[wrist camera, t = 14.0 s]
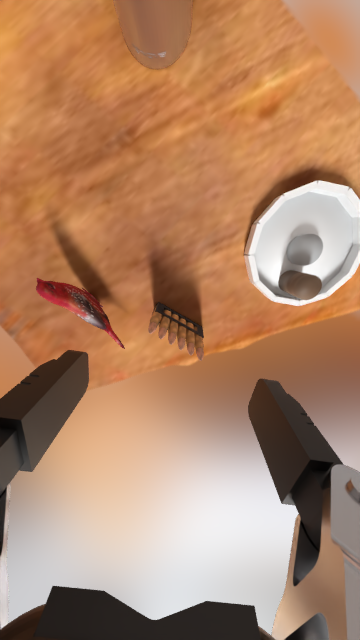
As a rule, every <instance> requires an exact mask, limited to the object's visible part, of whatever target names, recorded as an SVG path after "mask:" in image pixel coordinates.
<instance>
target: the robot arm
mask: <svg viewBox="0 0 360 640" xmlns="http://www.w3.org/2000/svg"><path fill="white" fill-rule="evenodd" d="M113 2H114V6H115V9H116V13H117V16H118V19H119V23H120V26H121V30H122V33H123V37H124V39H125V42H126V44H127V47H128V48H129V50H130V52H131V53H132V55H133V56H134V57H135V58H136V59H137V60H138V61H139V62H140V63H141V64H143V65H144V66H146V67H149V68H151V69H162V68H166V67H168V66H170V65H172V64H173V63H174V62H175V61H176V60H177V59H178V58H179V57H180V55H181V54H182V53H183V51H184V49H185V47H186V45H187V42H188V39H189V35H190V32H191V24H192V3H193V0H113ZM88 382H89V368H88V354H87V353H86V352H80V351H74V350H68V351H66V352H65V353H64V354H63V355H62V356H61V357H59V358H58V359H57V360H55V359H53V360H51V361H48V362H46V363H44V364H42V365H40V366H39V367H38V368H36V369H35V370H34V371H33V372H32V373H30V375H29V376H27V377H26V378H25V379H23V380H22V381H21V383H20V384H17V386H15V387H14V388H13V389H12V390H10V391H9V392H8V393H7V394H6V395H4V396H3V397H2V398H1V399H0V640H360V472H358V471H357V470H355V469H353V468H351V467H349V466H346V465H343V463H342V462H341V461H340V459H339V458H338V456H337V455H336V453H335V452H334V451H333V449H332V448H331V447H330V445H329V444H328V442H327V441H326V440H325V438H324V437H323V435H322V434H321V433H320V431H319V430H318V428H317V427H316V426H314V423H313V422H312V421H311V419H310V417H308V416H307V413H306V412H305V410H304V409H303V408H302V407H301V405H300V404H299V403H298V402H297V401H296V400H295V399H294V398H293V397H291V396H290V395H289V394H287V393H286V392H285V390H284V389H283V388H282V386H281V385H280V383H279V382H278V381H274V380H267V379H259V380H258V382H257V384H256V387H255V389H254V392H253V394H252V397H251V400H250V402H249V406H248V413H249V417H250V420H251V423H252V426H253V428H254V431H255V434H256V436H257V439H258V441H259V444H260V447H261V450H262V452H263V455H264V458H265V460H266V463H267V465H268V468H269V471H270V474H271V476H272V479H273V481H274V484H275V487H276V490H277V492H278V495H279V498H280V500H281V503H282V504H288V505H295V506H296V508H297V510H298V513H299V514H298V516H297V517H296V520H295V527H294V533H293V540H292V547H291V554H290V560H289V567H288V574H287V581H286V586H285V590H284V594H283V597H282V599H281V602H280V604H279V607H278V609H277V613H276V616H275V620H274V624H273V629H272V635H270V634H268V633H267V632H266V631H265V630H263V629H262V628H261V627H259V626H258V623H257V618H256V612H255V607H254V606H251V605H241V604H230V603H221V602H210V601H205V602H203V603H200V604H198V605H195V606H192V607H190V608H188V609H185V610H182V611H180V612H177V613H174V614H172V615H169V616H167V617H164V618H162V619H159V620H151V619H149V618H147V617H145V616H143V615H142V614H140V613H139V612H137V611H135V610H134V609H132V608H131V607H129V606H127V605H126V604H124V603H122V602H121V601H119V600H118V599H116V598H115V597H113V596H111V595H110V594H108V593H106V592H105V591H100V590H99V591H98V590H90V589H79V588H69V587H59V586H53V587H52V589H51V592H50V595H49V597H48V600H47V602H46V604H44V605H41V606H38V607H36V608H34V609H32V610H30V611H28V612H26V613H24V614H22V615H21V616H19V617H18V618H16V619H14V620H13V621H11V622H10V623H8V604H9V585H8V574H7V540H8V522H9V505H10V489H11V486H10V482H11V480H12V479H13V478H14V476H15V475H16V473H17V472H18V471H19V470H20V471H29V472H32V471H33V470H34V468H35V467H36V465H37V464H38V463H39V461H40V460H41V458H42V456H43V455H44V453H45V452H46V450H47V449H48V448H49V446H50V445H51V443H52V442H53V440H54V439H55V437H56V435H57V434H58V433H59V431H60V430H61V428H62V427H63V425H64V423H65V422H66V420H67V419H68V417H69V416H70V414H71V413H72V412H73V410H74V409H75V407H76V406H77V404H78V403H79V401H80V400H81V398H82V397H83V395H84V393H85V392H86V389H87V387H88Z"/></svg>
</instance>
